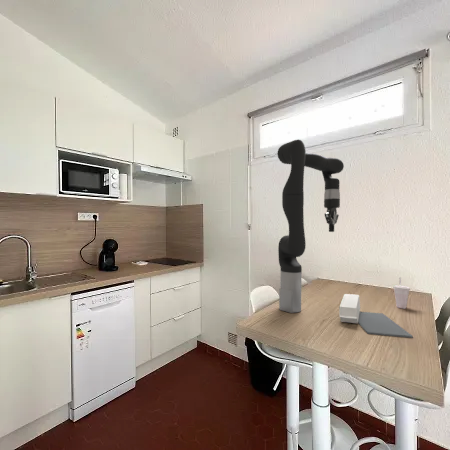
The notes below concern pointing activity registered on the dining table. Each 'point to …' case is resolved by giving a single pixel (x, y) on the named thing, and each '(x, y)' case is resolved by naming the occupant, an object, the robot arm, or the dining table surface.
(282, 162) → the robot arm
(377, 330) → the mat
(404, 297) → the smoothie
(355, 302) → the milk
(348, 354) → the dining table surface
